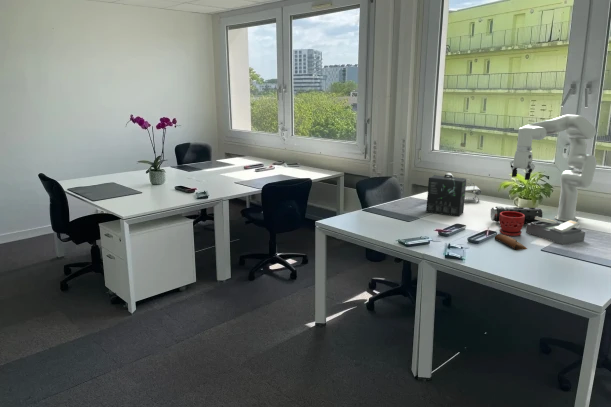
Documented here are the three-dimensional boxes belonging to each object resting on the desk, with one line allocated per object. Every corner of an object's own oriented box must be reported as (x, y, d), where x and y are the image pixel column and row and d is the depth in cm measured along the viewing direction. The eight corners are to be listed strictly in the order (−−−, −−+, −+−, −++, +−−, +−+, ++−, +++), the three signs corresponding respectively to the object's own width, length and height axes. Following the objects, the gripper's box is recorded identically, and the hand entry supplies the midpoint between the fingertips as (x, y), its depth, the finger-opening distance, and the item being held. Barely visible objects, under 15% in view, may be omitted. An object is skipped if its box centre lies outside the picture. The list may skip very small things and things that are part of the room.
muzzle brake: (541, 225, 275) (543, 209, 272) (493, 224, 277) (495, 208, 275) (535, 221, 284) (537, 205, 281) (489, 220, 286) (490, 204, 284)
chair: (443, 197, 349) (445, 172, 345) (477, 199, 345) (479, 173, 340) (445, 201, 336) (447, 175, 332) (480, 203, 332) (482, 176, 327)
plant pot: (494, 230, 265) (496, 210, 263) (516, 230, 265) (519, 210, 262) (503, 237, 253) (505, 216, 250) (526, 237, 252) (529, 216, 249)
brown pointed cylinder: (529, 249, 233) (524, 238, 231) (518, 256, 233) (513, 246, 231) (507, 238, 251) (503, 228, 249) (497, 245, 250) (492, 235, 248)
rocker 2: (570, 222, 250) (569, 219, 250) (578, 225, 246) (578, 222, 245) (554, 230, 247) (553, 227, 246) (562, 232, 242) (561, 230, 242)
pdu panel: (541, 227, 271) (542, 217, 269) (583, 241, 246) (585, 230, 244) (521, 230, 265) (522, 220, 264) (562, 244, 240) (564, 233, 239)
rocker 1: (548, 222, 263) (549, 219, 262) (556, 224, 258) (557, 221, 258) (534, 219, 258) (535, 216, 258) (541, 221, 253) (542, 218, 253)
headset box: (464, 213, 304) (467, 175, 298) (459, 217, 295) (462, 178, 288) (431, 208, 316) (433, 172, 310) (425, 212, 306) (427, 174, 300)
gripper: (541, 150, 253) (537, 180, 257) (517, 147, 269) (514, 175, 273) (531, 150, 250) (527, 181, 254) (507, 147, 266) (504, 176, 270)
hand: (520, 178), depth 264 cm, fingers open, 9 cm apart
